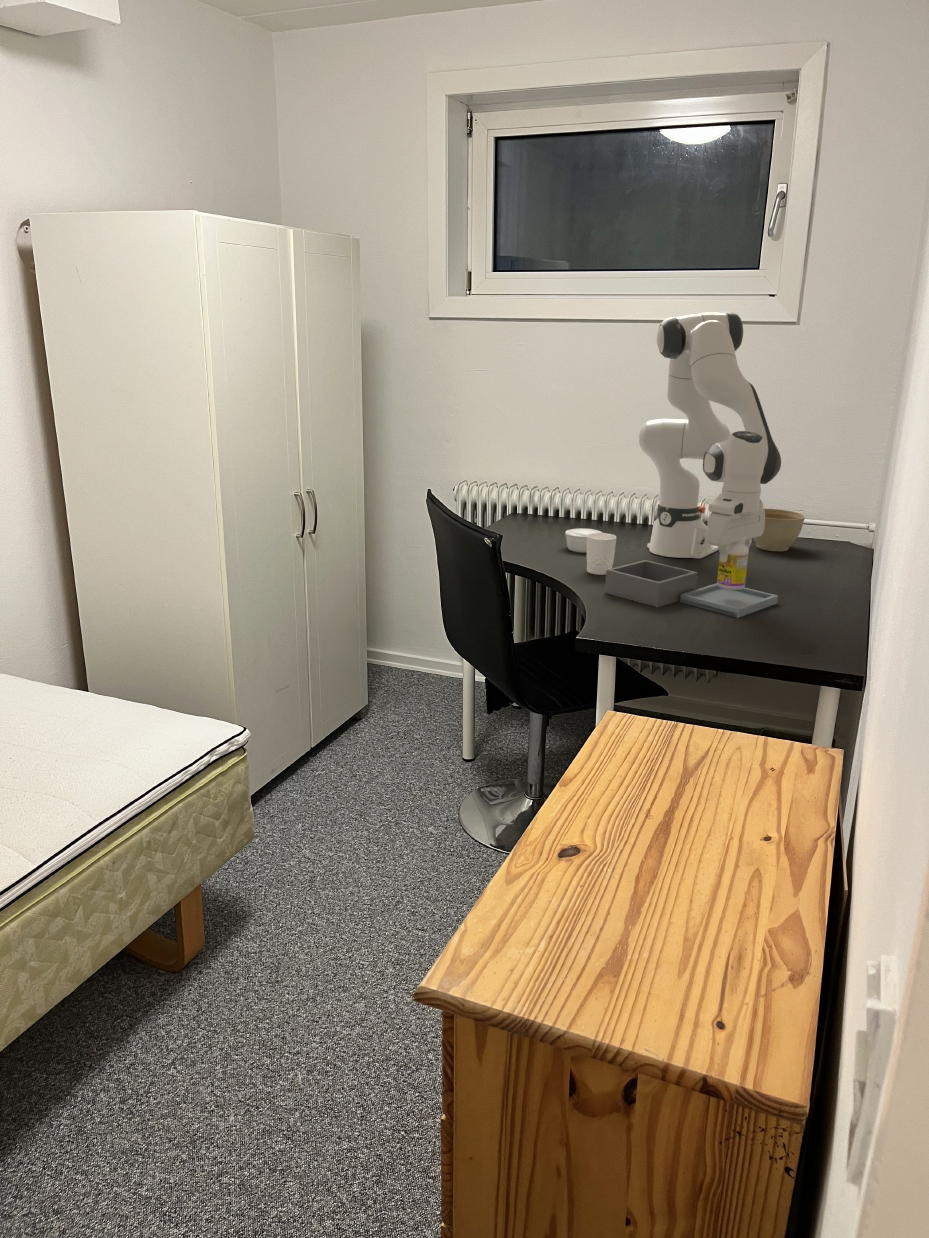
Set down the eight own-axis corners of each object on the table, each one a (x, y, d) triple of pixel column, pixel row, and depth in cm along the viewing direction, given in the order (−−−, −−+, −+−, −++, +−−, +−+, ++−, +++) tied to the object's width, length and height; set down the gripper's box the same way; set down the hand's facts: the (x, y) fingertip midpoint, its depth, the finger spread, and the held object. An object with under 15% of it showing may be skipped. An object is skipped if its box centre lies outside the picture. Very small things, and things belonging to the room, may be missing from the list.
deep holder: (643, 581, 240) (645, 559, 238) (695, 595, 229) (697, 572, 227) (604, 592, 229) (606, 569, 228) (657, 607, 218) (659, 583, 216)
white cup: (613, 576, 244) (615, 540, 241) (583, 574, 246) (585, 538, 243) (614, 569, 252) (617, 534, 249) (585, 567, 253) (588, 532, 250)
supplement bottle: (711, 584, 224) (715, 533, 220) (733, 582, 226) (738, 531, 222) (728, 591, 218) (733, 539, 214) (750, 589, 220) (756, 537, 216)
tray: (720, 589, 235) (721, 581, 234) (777, 603, 223) (778, 595, 223) (680, 602, 223) (680, 594, 222) (738, 617, 212) (739, 609, 211)
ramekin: (561, 552, 270) (562, 534, 268) (567, 543, 280) (568, 527, 279) (599, 555, 267) (600, 537, 266) (604, 546, 278) (605, 529, 276)
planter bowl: (774, 557, 269) (779, 521, 266) (734, 545, 282) (738, 511, 279) (811, 551, 277) (816, 516, 273) (770, 540, 290) (774, 506, 287)
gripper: (751, 495, 224) (744, 550, 229) (704, 504, 211) (698, 562, 215) (774, 499, 220) (767, 554, 224) (728, 509, 207) (721, 568, 211)
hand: (733, 558), depth 220 cm, fingers closed on supplement bottle, 7 cm apart
